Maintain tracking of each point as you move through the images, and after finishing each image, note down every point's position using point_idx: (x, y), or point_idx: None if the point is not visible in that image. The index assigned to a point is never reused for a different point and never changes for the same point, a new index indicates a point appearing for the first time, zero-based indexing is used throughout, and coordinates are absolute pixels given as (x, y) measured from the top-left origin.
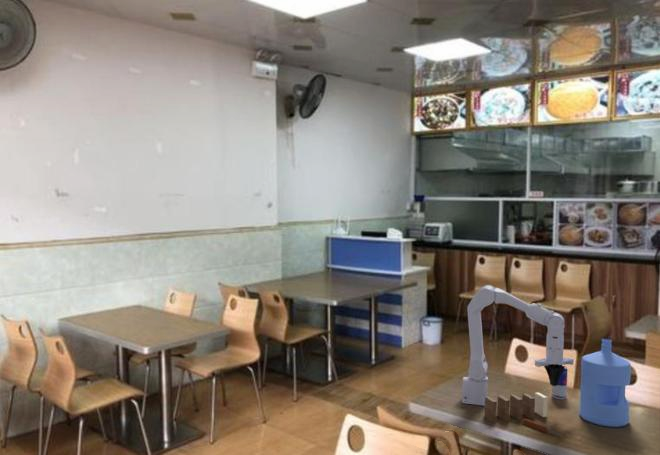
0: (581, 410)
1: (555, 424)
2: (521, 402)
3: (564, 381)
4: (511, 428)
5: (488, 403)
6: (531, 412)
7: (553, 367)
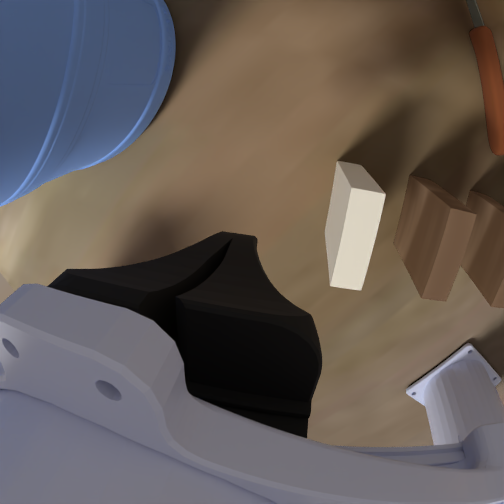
0: (152, 91)
1: (371, 64)
2: None
3: None
4: None
5: None
6: (435, 186)
7: (232, 382)
